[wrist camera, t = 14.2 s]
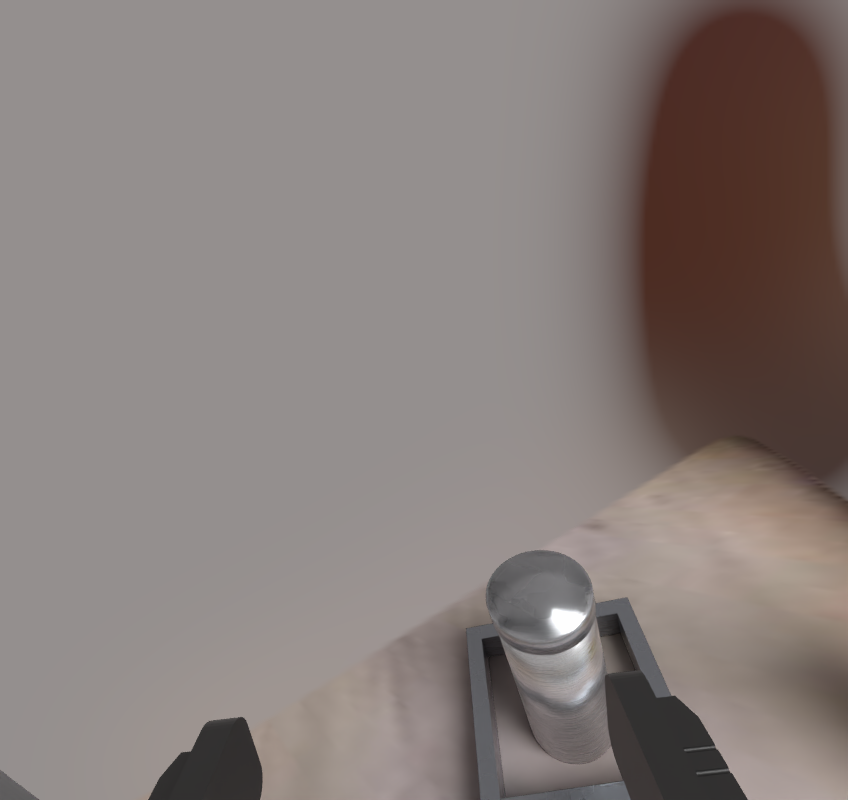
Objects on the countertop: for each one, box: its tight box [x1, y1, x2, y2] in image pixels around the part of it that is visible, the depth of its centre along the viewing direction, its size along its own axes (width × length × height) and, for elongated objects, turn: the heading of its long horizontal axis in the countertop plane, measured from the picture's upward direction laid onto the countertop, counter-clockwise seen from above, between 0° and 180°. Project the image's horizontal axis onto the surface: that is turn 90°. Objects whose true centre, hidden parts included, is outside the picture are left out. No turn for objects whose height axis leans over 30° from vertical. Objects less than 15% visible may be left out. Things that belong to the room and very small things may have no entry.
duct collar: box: [466, 597, 671, 800], centre depth 28 cm, size 11×11×2 cm
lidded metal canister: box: [486, 550, 611, 764], centre depth 26 cm, size 5×5×11 cm
